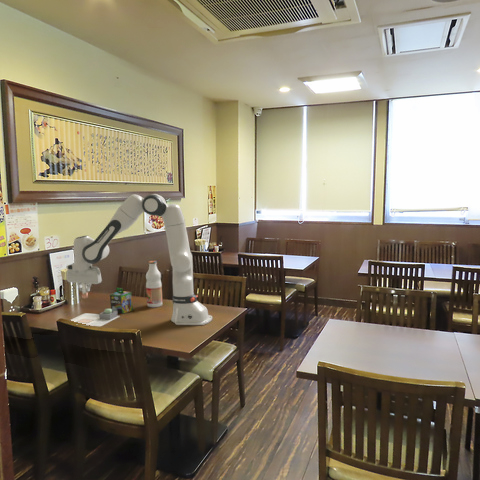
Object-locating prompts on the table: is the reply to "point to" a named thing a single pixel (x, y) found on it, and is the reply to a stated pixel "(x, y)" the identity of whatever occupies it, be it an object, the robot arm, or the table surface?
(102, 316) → the board
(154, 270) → the fruit juice
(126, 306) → the chalk box
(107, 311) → the button
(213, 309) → the table surface
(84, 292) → the marker
